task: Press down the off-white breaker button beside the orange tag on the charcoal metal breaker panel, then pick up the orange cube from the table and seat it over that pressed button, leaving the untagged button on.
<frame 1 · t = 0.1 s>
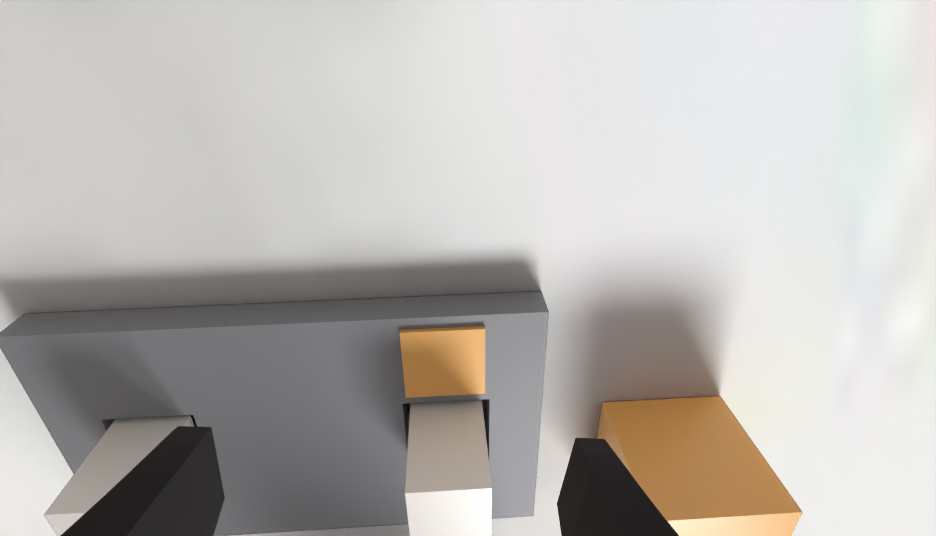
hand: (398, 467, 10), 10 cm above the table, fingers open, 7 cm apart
untagged breaker: (138, 486, 19), point 3 cm above the table, slide at 0.0 cm
orange cube: (651, 441, 25), on the table
tagged breaker: (448, 468, 20), point 3 cm above the table, slide at 0.0 cm
breaker panel: (313, 414, 23), on the table
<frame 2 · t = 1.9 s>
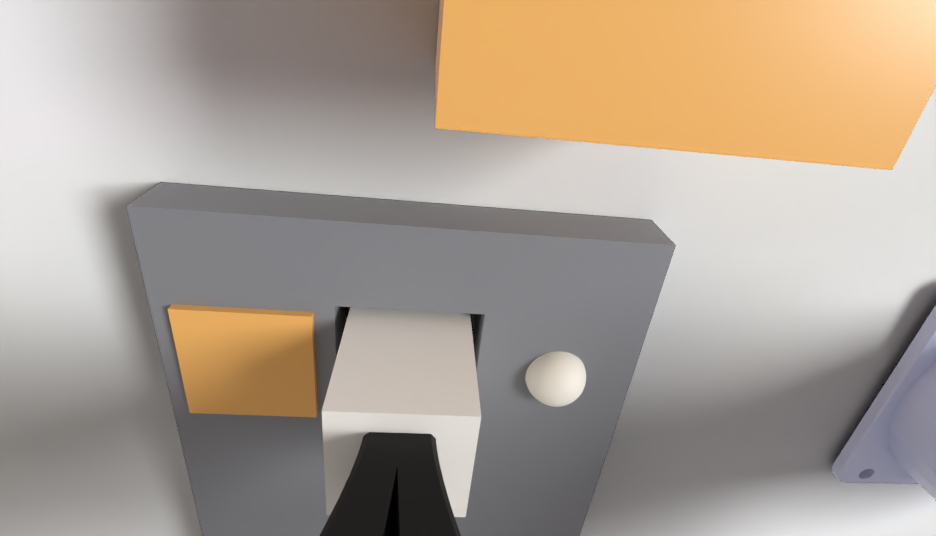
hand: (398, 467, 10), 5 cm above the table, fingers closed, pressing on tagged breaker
tagged breaker: (405, 394, 12), point 2 cm above the table, slide at 0.9 cm, touching gripper
breaker panel: (401, 478, 17), on the table
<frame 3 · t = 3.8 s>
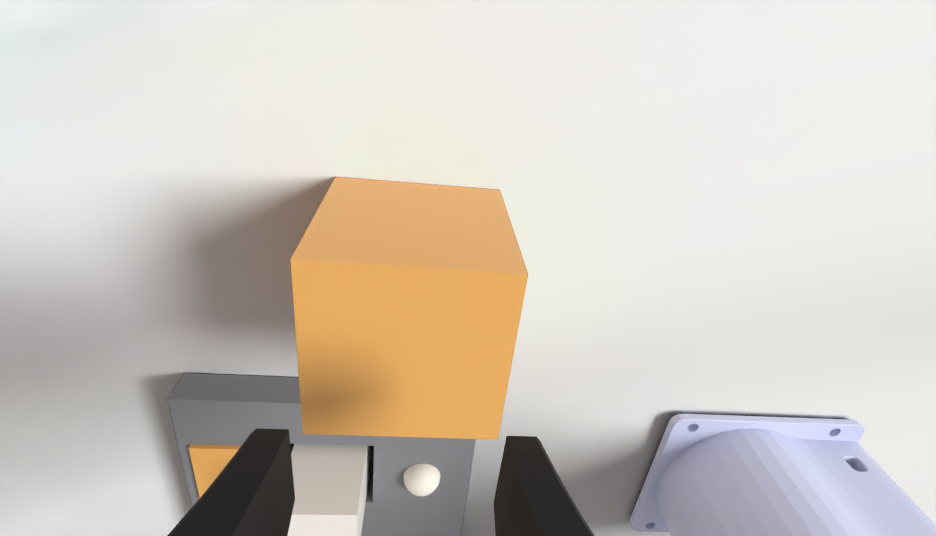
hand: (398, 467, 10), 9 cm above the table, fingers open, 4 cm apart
orange cube: (414, 256, 18), on the table
tagged breaker: (327, 491, 21), point 2 cm above the table, slide at 1.0 cm
breaker panel: (339, 529, 26), on the table
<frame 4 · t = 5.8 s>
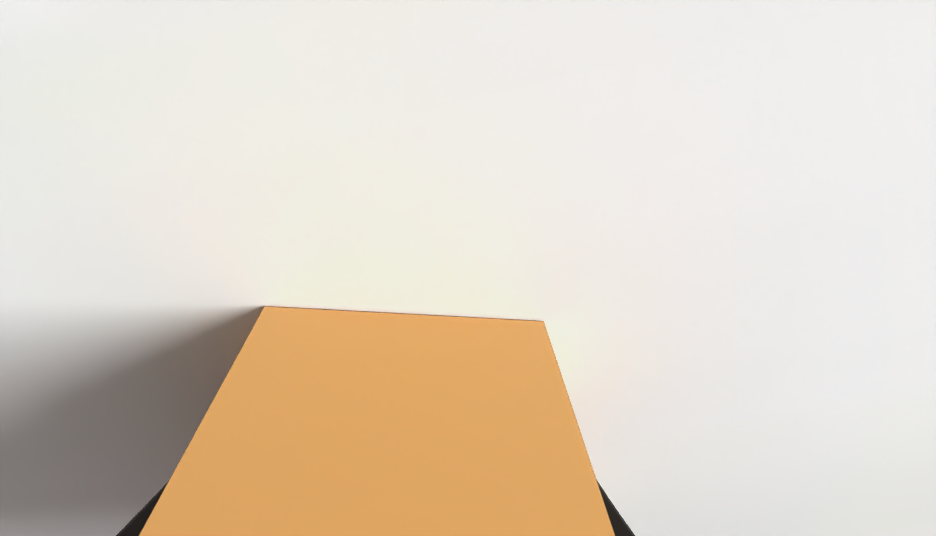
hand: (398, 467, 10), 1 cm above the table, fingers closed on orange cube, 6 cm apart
orange cube: (402, 416, 11), on the table, touching gripper
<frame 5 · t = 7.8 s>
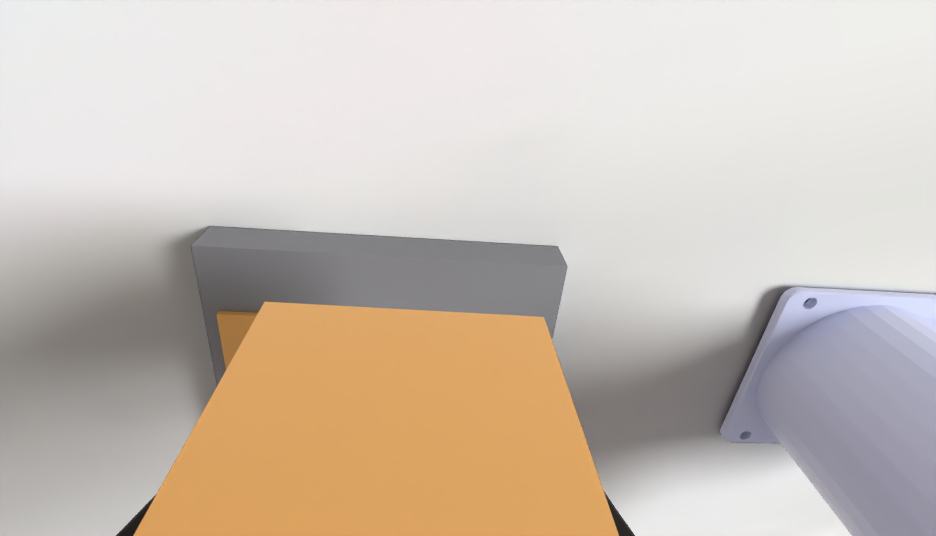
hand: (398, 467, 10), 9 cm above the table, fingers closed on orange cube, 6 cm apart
orange cube: (402, 412, 11), point 7 cm above the table, touching gripper
breaker panel: (385, 441, 22), on the table
when the fingers open (4 cm above the table, at t = 9.8 s): orange cube stays where it is, resting on breaker panel.
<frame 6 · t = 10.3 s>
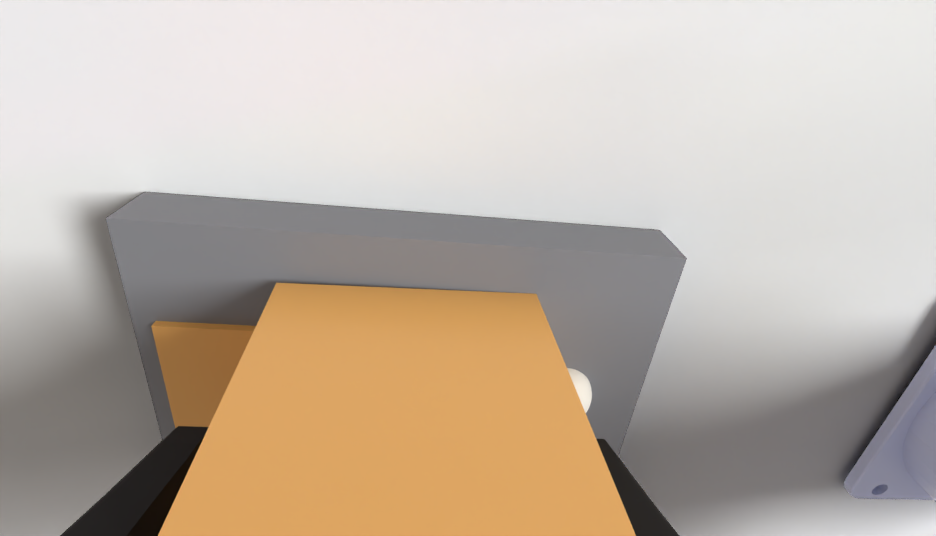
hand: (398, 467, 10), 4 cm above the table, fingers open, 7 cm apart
orange cube: (404, 387, 12), point 2 cm above the table, touching breaker panel
breaker panel: (398, 495, 16), on the table
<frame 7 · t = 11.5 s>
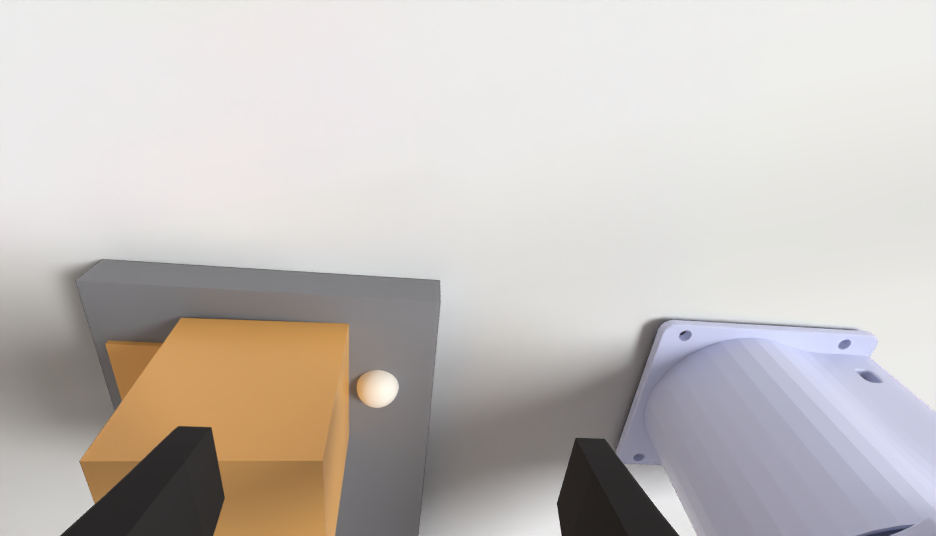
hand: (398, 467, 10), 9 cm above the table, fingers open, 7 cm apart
orange cube: (272, 382, 19), point 2 cm above the table, touching breaker panel
breaker panel: (292, 460, 23), on the table
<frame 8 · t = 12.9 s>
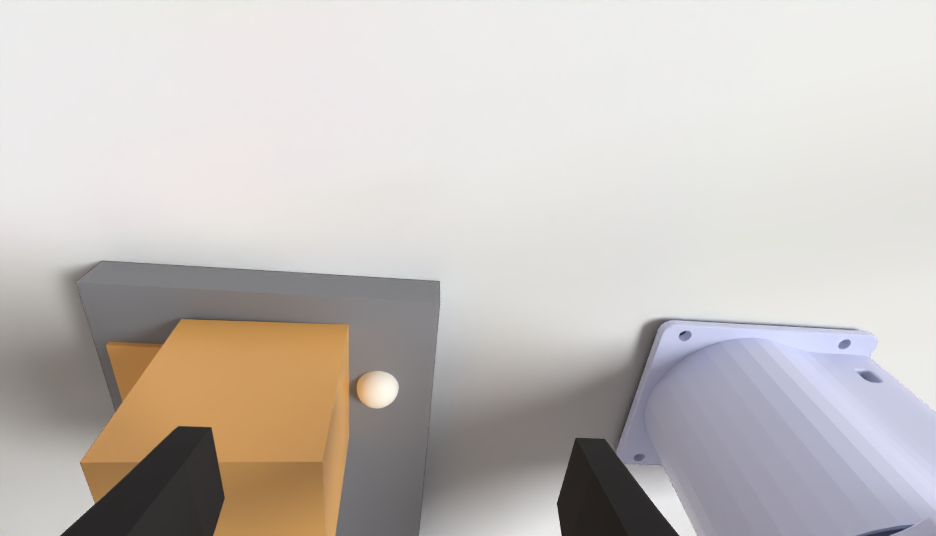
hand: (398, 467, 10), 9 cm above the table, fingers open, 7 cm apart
orange cube: (272, 383, 19), point 2 cm above the table, touching breaker panel
breaker panel: (293, 460, 23), on the table
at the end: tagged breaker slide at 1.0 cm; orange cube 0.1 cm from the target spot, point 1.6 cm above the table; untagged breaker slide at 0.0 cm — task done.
